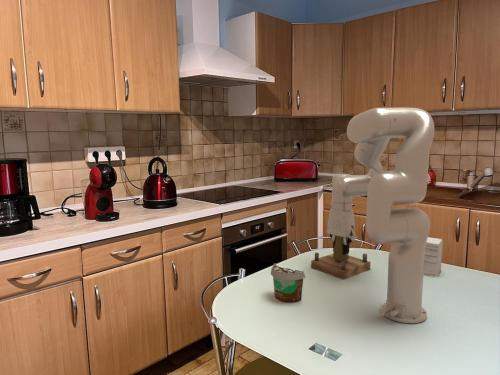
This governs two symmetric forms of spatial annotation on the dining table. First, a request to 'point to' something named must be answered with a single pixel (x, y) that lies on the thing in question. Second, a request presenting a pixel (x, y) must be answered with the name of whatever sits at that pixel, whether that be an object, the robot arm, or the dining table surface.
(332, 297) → the dining table surface
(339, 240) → the brown rounded piece
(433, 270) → the supplement box
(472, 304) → the dining table surface
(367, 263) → the shelf board
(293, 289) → the food container
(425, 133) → the robot arm
